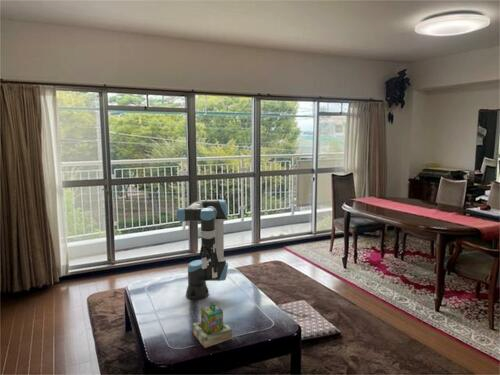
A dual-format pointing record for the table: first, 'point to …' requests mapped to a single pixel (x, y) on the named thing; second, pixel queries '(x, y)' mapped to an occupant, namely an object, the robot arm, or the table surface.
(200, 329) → the rectangular frame
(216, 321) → the chalk box
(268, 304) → the table surface
